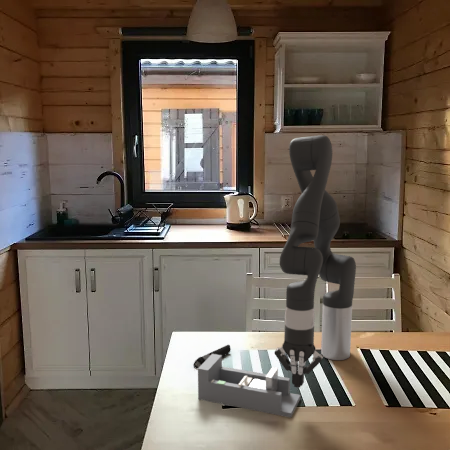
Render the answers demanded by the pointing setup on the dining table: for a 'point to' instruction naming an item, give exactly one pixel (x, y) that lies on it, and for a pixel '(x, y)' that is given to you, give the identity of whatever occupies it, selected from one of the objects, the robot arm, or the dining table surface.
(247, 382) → the drag pointer
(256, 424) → the dining table surface
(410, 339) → the dining table surface
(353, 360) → the dining table surface
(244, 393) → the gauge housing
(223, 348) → the electric trimmer
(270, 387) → the notched taupe block
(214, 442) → the dining table surface
